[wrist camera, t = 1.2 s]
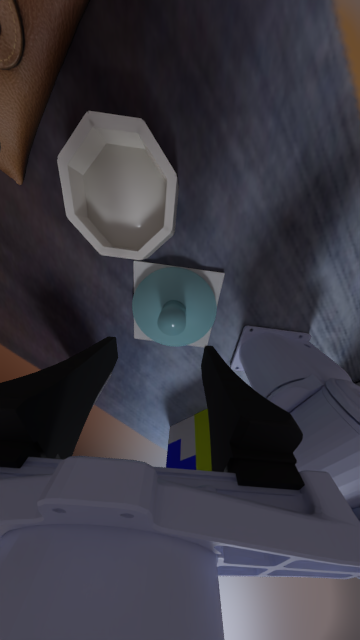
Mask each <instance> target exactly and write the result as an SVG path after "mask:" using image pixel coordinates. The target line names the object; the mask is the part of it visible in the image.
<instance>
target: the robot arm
mask: <svg viewBox="0 0 360 640" xmlns="http://www.w3.org/2000/svg"><path fill="white" fill-rule="evenodd" d="M250 329H252V330H250ZM300 335H301V336H300ZM310 339H311V335H310V334H308V333H302V332H294V331H286V330H279V329H271V328H264V327H256V326H248V325H247V326H245V327H244V328H243V331H242V334H241V337H240V340H239V343H238V346H237V348H236V351H235V354H234V357H233V360H232V363H231V366H230V367H231V368H230V367H229V366H228V365H227V364H226V363H225V361H224V360H223V359H222V358H221V356H220V355H219V354H218V353H217V351H216V350H215V349H214V347H213V346H206V345H205V348H204V353H203V359H202V364H201V370H202V380H203V385H204V391H205V396H206V401H207V408H208V418H209V431H210V446H211V465H212V471H201V470H188V469H176V468H163V467H152V466H151V465H149V464H147V463H145V462H140V461H136V460H126V459H113V458H101V457H89V456H72V454H73V452H74V449H75V446H76V444H77V441H78V439H79V436H80V434H81V431H82V429H83V426H84V424H85V422H86V420H87V417H88V415H89V413H90V411H91V408H92V406H93V404H94V402H95V400H96V398H97V396H98V394H99V392H100V391H101V389H102V387H103V386H104V384H105V382H106V381H107V379H108V377H109V375H110V374H111V372H112V370H113V368H114V366H115V364H116V361H117V359H118V352H117V343H116V337H106V338H105V339H103V340H101V341H99V342H98V343H96V344H94V345H93V346H91V347H89V348H88V349H86V350H84V351H82V352H80V353H78V354H77V355H75V356H73V357H71V358H69V359H67V360H65V361H62V362H60V363H58V364H56V365H53V366H51V367H48V368H45V369H43V370H40V371H38V372H35V373H32V374H29V375H26V376H23V377H20V378H16V379H13V380H9V381H6V382H2V383H0V640H224V633H223V622H222V613H221V602H220V593H219V582H218V576H262V577H266V576H267V577H313V578H333V579H349V578H353V577H357V578H358V579H360V386H358V385H356V384H355V383H353V382H352V380H351V378H350V376H349V375H348V374H347V372H346V371H345V370H344V369H343V368H341V367H340V366H339V365H338V364H336V363H335V362H334V361H333V360H331V359H330V358H329V357H328V356H326V355H325V354H324V353H323V352H321V351H320V350H319V349H318V348H316V347H315V346H314V345H313V344H311V343H310V342H309V340H310ZM236 367H237V368H236ZM233 370H238V371H245V373H246V375H247V377H248V380H249V382H250V384H251V386H252V388H251V387H250V386H249V385H248V384H246V383H245V382H244V381H243V380H242V379H241V378H240V377H239V376H237V375H236V374H235V373H234V371H233Z"/></svg>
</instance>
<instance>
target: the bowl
mask: <svg viewBox="0 0 360 640" xmlns="http://www.w3.org/2000/svg"><path fill="white" fill-rule="evenodd" d="M88 112H89V114H88ZM88 112H86V113H85V115H84V116H83V118H82V120H81V121H80V123H79V124H78V126H77V127H76V129H75V130H74V132H73V134H72V135H71V137H70V138H69V140H68V141H67V143H66V144H65V146H64V147H63V149H62V151H61V152H60V154H59V155H58V159H57V162H58V168H59V174H60V180H61V186H62V192H63V198H64V204H65V210H66V216H67V217H68V219H69V220H70V221H71V223H72V224H73V225H74V226H75V227H76V228H77V229H78V230H79V231H80V232H81V234H82V235H83V236H84V237H85V238H86V239H87V240H88V241H89V242H90V243H91V245H92V246H93V247H94V248H95V249H96V250H97V251H98V252H99V253H100V254H102V255H106V256H113V257H120V258H128V259H135V260H143V259H146V258H148V257H150V256H151V255H152V254H153V253H154V252H155V251H156V250H157V249H158V248H159V247H161V246H162V245H163V244H164V243H165V242H166V241H167V240H168V239H169V238H170V237H172V236H173V235H174V234H173V233H175V223H176V213H177V202H178V191H179V186H178V180H177V174H176V173H175V171H174V169H173V168H172V166H171V164H170V163H169V161H168V159H167V158H166V156H165V155H164V153H163V151H162V150H161V148H160V146H159V145H158V143H157V141H156V140H155V138H154V136H153V135H152V133H151V132H150V130H149V128H148V127H147V125H146V123H145V122H144V120H143V121H142V119H141V118H134V117H128V116H121V115H114V114H108V113H101V112H94V111H88Z"/></svg>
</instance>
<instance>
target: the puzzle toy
mask: <svg viewBox="0 0 360 640" xmlns="http://www.w3.org/2000/svg"><path fill="white" fill-rule="evenodd" d="M166 468H176V469H188V470H201V471H212V465H211V446H210V431H209V418H208V409H206V410H203V411H201V412H199V413H197V414H195V415H193V416H191V417H189V418H187V419H185V420H183V421H181V422H179V423H177V424H175V425H173V426H170V431H169V441H168V452H167V462H166Z"/></svg>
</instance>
